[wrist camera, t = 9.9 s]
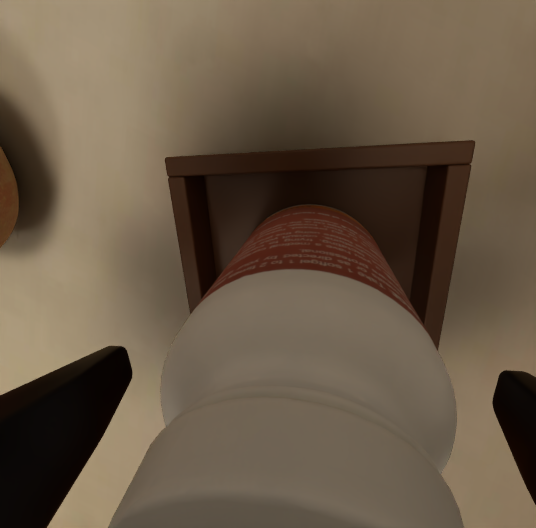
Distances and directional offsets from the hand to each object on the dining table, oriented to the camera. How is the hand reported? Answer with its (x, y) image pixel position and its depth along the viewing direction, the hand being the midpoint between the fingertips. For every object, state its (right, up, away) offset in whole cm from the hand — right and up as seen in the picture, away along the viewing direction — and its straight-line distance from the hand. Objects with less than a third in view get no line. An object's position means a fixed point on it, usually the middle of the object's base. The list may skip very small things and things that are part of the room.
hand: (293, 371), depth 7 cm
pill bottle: (+1, +2, +7) cm, 7 cm away
